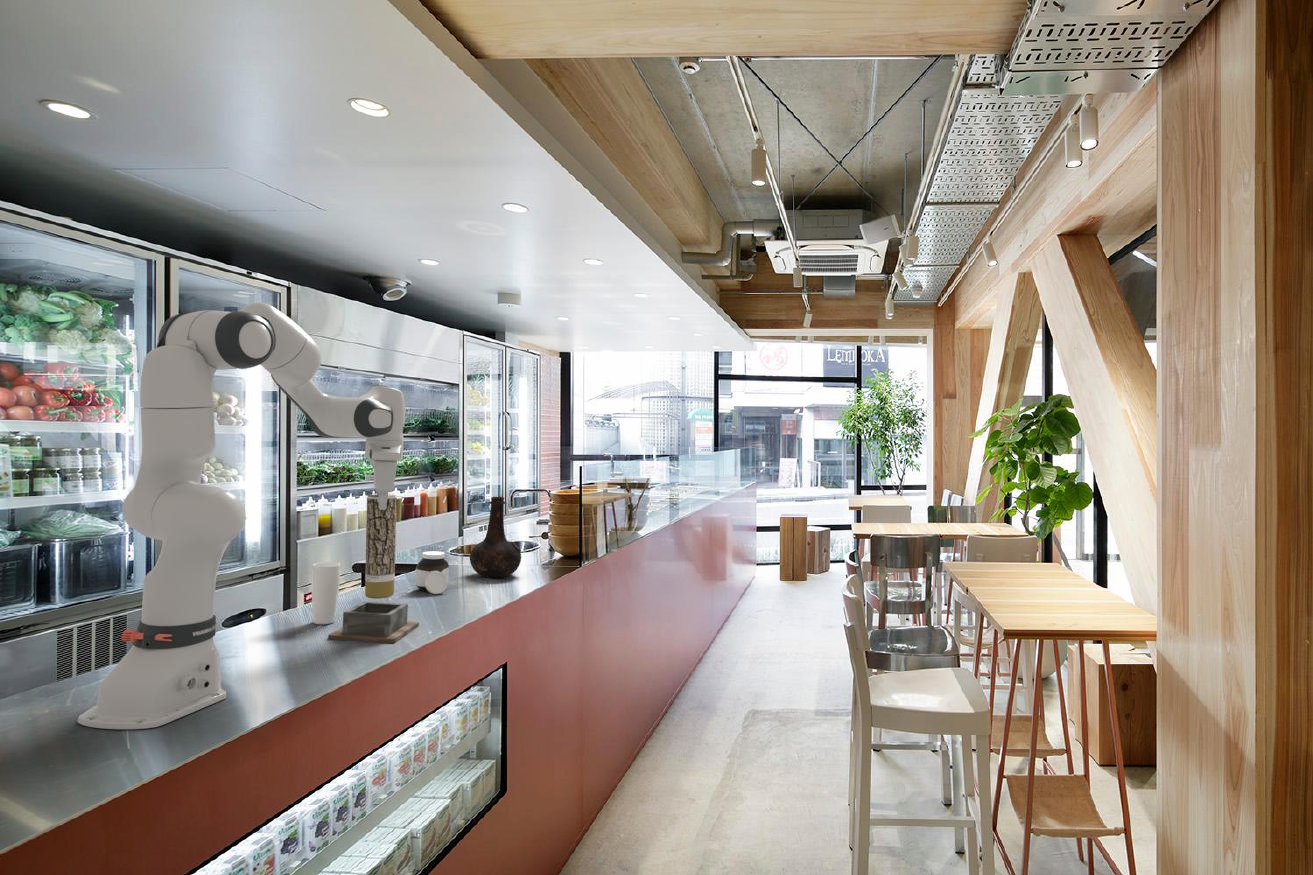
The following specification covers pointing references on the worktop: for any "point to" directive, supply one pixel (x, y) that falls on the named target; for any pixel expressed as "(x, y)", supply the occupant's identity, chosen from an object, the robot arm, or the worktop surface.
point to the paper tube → (380, 548)
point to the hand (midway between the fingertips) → (381, 507)
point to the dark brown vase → (495, 547)
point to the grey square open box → (375, 623)
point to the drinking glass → (325, 591)
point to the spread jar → (432, 572)
